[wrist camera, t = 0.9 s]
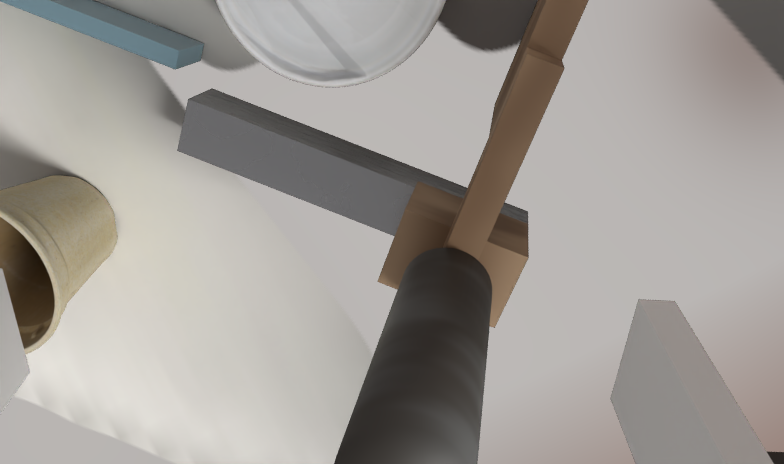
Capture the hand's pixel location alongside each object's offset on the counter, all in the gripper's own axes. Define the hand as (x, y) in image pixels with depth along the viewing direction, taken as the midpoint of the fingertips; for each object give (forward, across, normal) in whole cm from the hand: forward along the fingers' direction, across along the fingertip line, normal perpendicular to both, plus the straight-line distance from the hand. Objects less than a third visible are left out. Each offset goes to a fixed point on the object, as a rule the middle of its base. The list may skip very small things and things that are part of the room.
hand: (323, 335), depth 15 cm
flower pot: (+27, +18, +13) cm, 35 cm away
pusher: (+23, -7, +3) cm, 24 cm away
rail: (+24, 0, +7) cm, 25 cm away
